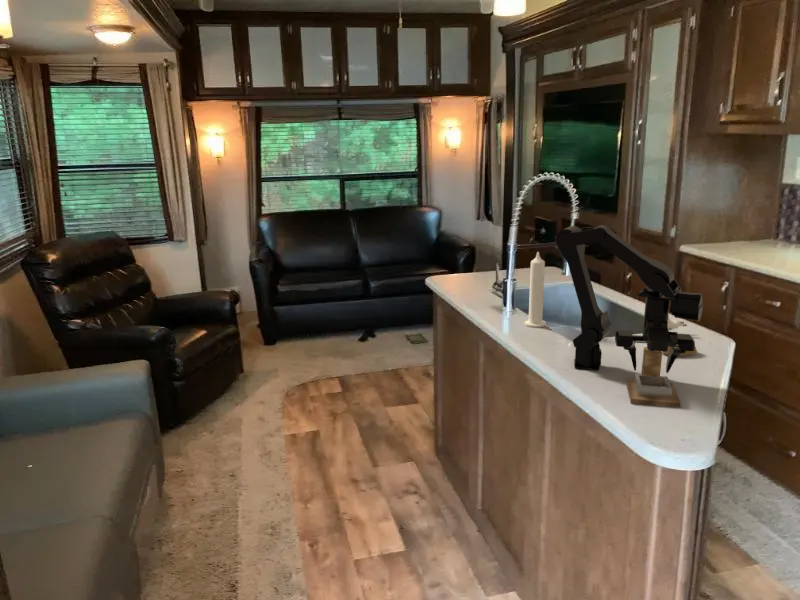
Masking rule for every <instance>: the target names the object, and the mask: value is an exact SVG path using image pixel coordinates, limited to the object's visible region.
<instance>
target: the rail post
mask: <svg viewBox="0 0 800 600" xmlns="http://www.w3.org/2000/svg"><path fill="white" fill-rule="evenodd" d="M642 353H643V354H642V361H641V362H642V363H641V373H640V375H653V376H661V369H662V361H663V353H662V351H650V350H648V349H647V346H643V351H642Z"/></svg>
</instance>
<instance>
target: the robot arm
mask: <svg viewBox="0 0 800 600" xmlns="http://www.w3.org/2000/svg"><path fill="white" fill-rule="evenodd" d="M554 242H555V245H556V247H557V250H558V251H559V254H560V255H561V256H562V258H563V259H564V260H565V261H566V264H567V265H568V266H567V267H568V269H569V273H570V277H571V280H572V283H573V286H574V291H575V293H576V297H577V300H578V305H579V308H580V311H581V317H580V331H581V333H580V334H578V335H577V336H576V337H575V338H573V340H572V343H573V347H574V348H575V352H574V359H573V363H574V364H573V365H574V369H580V370H593V371H599V370H600V366H601V364H602V354H603V353H602V348H601V346H600V342H601V341H603V339H605V338H606V337H607V336H608V335H609V333H610V331H611V326H612V325H613V324H612V322H611V321H610V319H609V312H608V310H607V311H602V310H601V309H600V308H599V305H598V301H597V298H596V294H595V291H594V287H593V284H592V280H591V278H590V273H589V270H588V266H587V262H586V260H585V254H586V253H585V249H586V244H587V245H589V244H592V243H598V244H599V245H600V246H602V247H603V248H604V249H606V250H607V251H609V253H611V254H613V256H615V257H617V258H618V260H621V261H622V262H623V263H624V264H626V265H627V266H628V267H630V268H631V269H632V270H633V271H634V272H635V273H636V275H637V276H638V278H639V279H640V280H641V281H642V282H643V284H644V285H646V286H645V287H644V288H643V289H642V290H641V291H639V293H637V297H641V298H645V303H644V312H643V313H644V315H643V326H642V335H635V334H634V335H633V332H632V331H631V330H620V329H618V330H616V331H615V334H614V341H615V345H616V347H618V348H619V347H621V348H623V350H626V351H628V353H629V355H630V359H631V363H632V366H633V370H634V371H636V370H637V347H636V345H635V344H646V347H647V349H648V350H650V351H662V352H666V351H668V347H669V352H668V355H667V357H666V363H665V364H666V365H665V372H666V373H667V374H668V373H669V372H670V370H671V368H672V366H673V364H674V363H675V361H676V359H677V358H678V356H679V355H680V354H682V353H685V352H686V351H694V348H695V347H696V344H695V340H694V338H693V337H692V335H691V334H689V333H688V334H687V333H678V331H670V330H669V331H668V317H669V313H671V315H672V316H674V318H675V319H683V320H690V321H696V322H700V321H701V318H702V315H703V314H702V313H703V307H704V303H703V294H702V293H701V292H688V291H682V288H681V286H680V285H679V283H678V282H677V280H676V279H675V272H674V269H672V268H671V266H669V265H667V264H665V263H663V262H661V261H660V260H658V259H654V258H650V257H649V256H646V255H644V254H643V253H642V252H640V251H639V250H638V249H637V248H636V247H634V246H632V245H631V244H630V243H629V242H627V241H626V240H625V239H623V238H622V237H620V236H619V235H618V234H617V233H615V232H614V231H612V230H611V229H610V228H609V227H608V226H606V225H602V224H601V225H599V226H591V227H590V226H589V227H588V226H587V227H582V228H580V227H578V226H575V225H570V226H568V227H565V228H563V229H561V230H559V231H558V232H557V233H556V235H555V237H554Z"/></svg>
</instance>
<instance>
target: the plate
mask: <svg viewBox="0 0 800 600" xmlns="http://www.w3.org/2000/svg"><path fill="white" fill-rule="evenodd" d="M634 381H635V379H626V382H625V385H626V389H627V394H628V398H629V402H630V404H632V405H633V404H634V405H635V404H636V405H646V406H647V405H648V406H657V407H658V406H659V407H668V408H669V407H671V408H681V401H680V400H681V399H680V398H679V396H678V394H677V392H676V389H675V386H674V384H673V382H670V384H671V387H672V396H671V398H661V397H649V396H638V395H637V391H636V388H635V384H634Z"/></svg>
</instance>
